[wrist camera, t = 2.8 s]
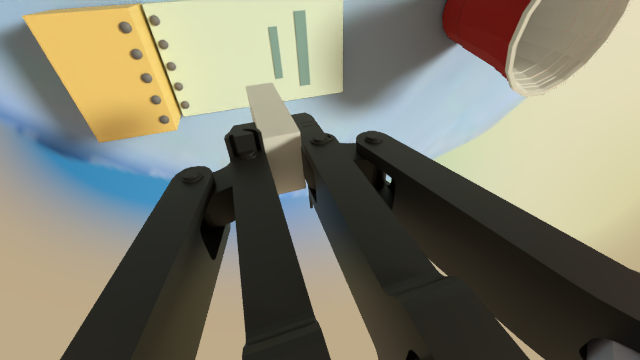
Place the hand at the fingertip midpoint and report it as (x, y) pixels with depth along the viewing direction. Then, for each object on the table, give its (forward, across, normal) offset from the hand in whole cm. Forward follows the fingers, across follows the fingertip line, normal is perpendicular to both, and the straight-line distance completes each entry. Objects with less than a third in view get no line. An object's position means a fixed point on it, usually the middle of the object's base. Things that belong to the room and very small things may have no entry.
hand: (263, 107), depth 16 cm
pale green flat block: (+13, +1, 0) cm, 13 cm away
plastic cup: (+13, +24, +2) cm, 27 cm away
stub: (+13, -10, 0) cm, 16 cm away
